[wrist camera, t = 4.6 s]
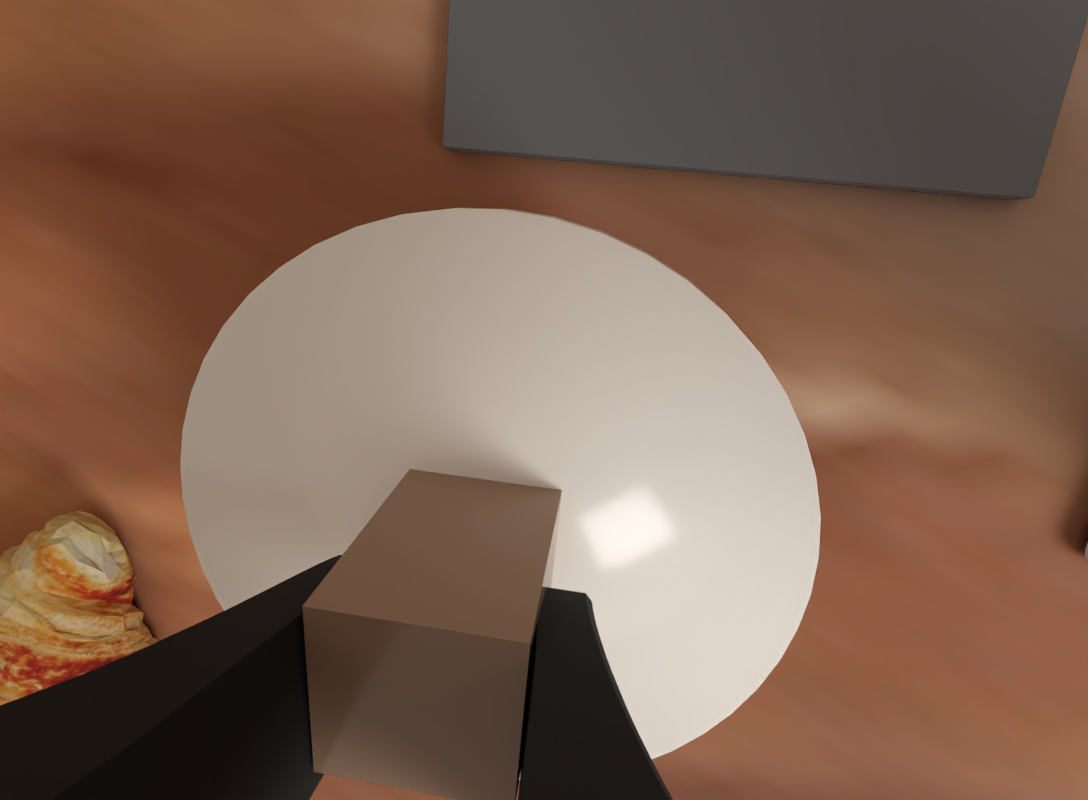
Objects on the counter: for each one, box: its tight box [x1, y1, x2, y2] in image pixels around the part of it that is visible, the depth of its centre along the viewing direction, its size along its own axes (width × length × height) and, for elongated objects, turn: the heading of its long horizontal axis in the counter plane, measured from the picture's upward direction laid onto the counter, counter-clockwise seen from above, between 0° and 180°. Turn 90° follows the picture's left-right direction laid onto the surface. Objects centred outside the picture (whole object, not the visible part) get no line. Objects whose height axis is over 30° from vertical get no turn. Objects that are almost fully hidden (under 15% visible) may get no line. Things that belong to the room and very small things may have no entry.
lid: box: [180, 208, 821, 800], centre depth 9 cm, size 11×11×4 cm
